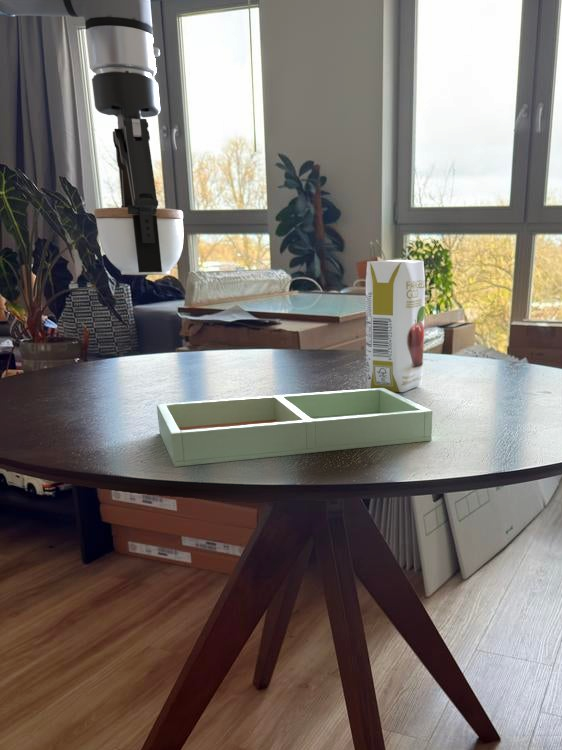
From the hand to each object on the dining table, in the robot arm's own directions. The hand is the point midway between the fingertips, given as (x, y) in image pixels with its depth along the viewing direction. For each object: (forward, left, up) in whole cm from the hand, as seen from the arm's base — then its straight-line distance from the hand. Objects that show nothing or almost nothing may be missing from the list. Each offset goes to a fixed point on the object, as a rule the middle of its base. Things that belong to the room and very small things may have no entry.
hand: (145, 270), depth 94 cm
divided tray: (+13, -23, -18) cm, 32 cm away
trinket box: (0, 0, -1) cm, 1 cm away
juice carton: (+36, +1, -18) cm, 40 cm away
